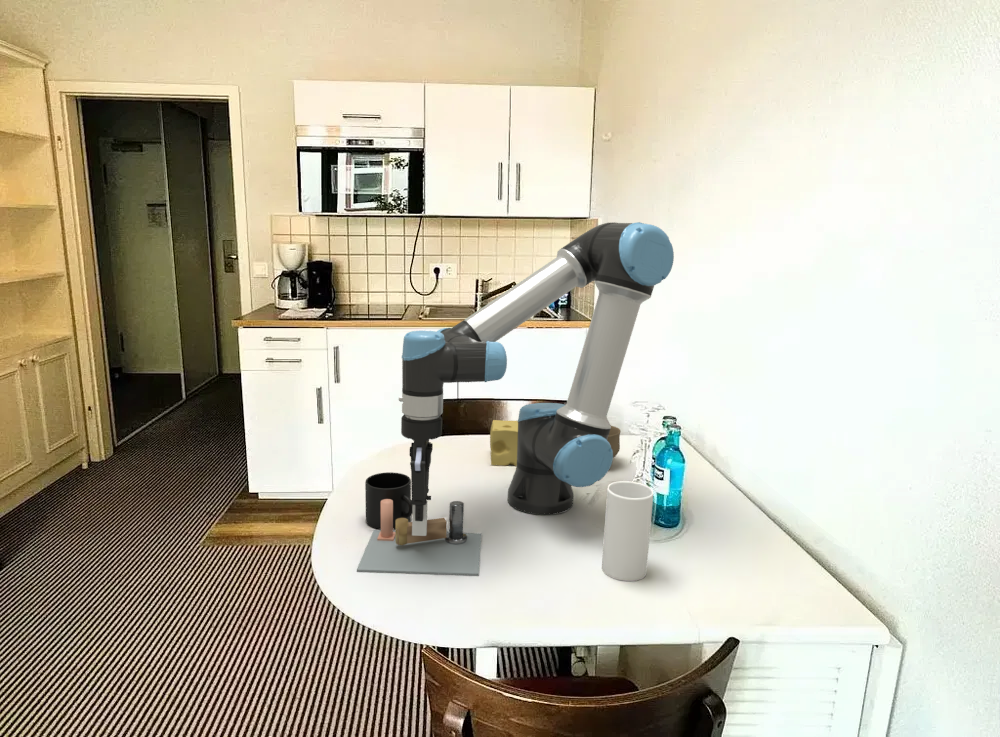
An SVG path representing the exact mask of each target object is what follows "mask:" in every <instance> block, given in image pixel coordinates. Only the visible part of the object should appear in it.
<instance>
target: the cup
mask: <svg viewBox="0 0 1000 737" xmlns="http://www.w3.org/2000/svg"><path fill="white" fill-rule="evenodd" d="M653 500H654V490H653V489H652V487H650V486H649V485H647V484H644V483H640V482H637V481H630V480H619V481H613V482H611V483H609V484H608V485H607V490H606V504H605V518H604V527H603V528H604V530H603V543H602V556H601V557H602V559H601V570H602V572H603V573H604V574H605V575H606V576H608V577H610V578H612V579H614V580H618V581H622V582H636V581H639V580H642V579H644V578H645V576H646V575H647V569H648V558H649V556H648V555H649V546H650V545H649V544H650V537H651V536H650V535H651V534H650V533H651V523H652V514H653V502H654V501H653Z"/></svg>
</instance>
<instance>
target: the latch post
mask: <svg viewBox="0 0 1000 737" xmlns="http://www.w3.org/2000/svg"><path fill="white" fill-rule="evenodd" d="M380 530H381V531H380V533H379V536H378V538H377V540H379V541H394V538H395V535H396V532H393V530H394V529H393V500H391V499H383V500H381V529H380Z"/></svg>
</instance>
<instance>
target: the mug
mask: <svg viewBox="0 0 1000 737" xmlns="http://www.w3.org/2000/svg"><path fill="white" fill-rule="evenodd" d="M364 483H365V486H364V489H365V494H364V495H365V497H364V498H365V521H366V524H367V525H368V526H369V527H370V528H374V529H375V530H381V500H383V499H391V500H393V530H396V519H398V518H406V519H408V522H411V520H412V518H411V517H412V506H413V505H412V504H409V500H412V490H411V477H409V476H408V475H406V474H404V473H401V472H392V471H391V472H380V473H379V472H378V473H376V474H372V475H370V476H368V477H367V478H366V479H365V482H364Z"/></svg>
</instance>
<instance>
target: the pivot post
mask: <svg viewBox="0 0 1000 737" xmlns="http://www.w3.org/2000/svg"><path fill="white" fill-rule="evenodd" d="M464 508H465V503H464V502H463V501H460V500H453V501H451V502H449V513H448V514H449V516H448V521H449V523H448V532H449V533H447V534H446V538H445V541H446V542H447V543H449V544H454V545H458V544H463V543H465V542H466V541H467V535H466V534H465V533H466V532H464V515H465V514H464V513H465V512H464V511H465V510H464Z"/></svg>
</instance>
